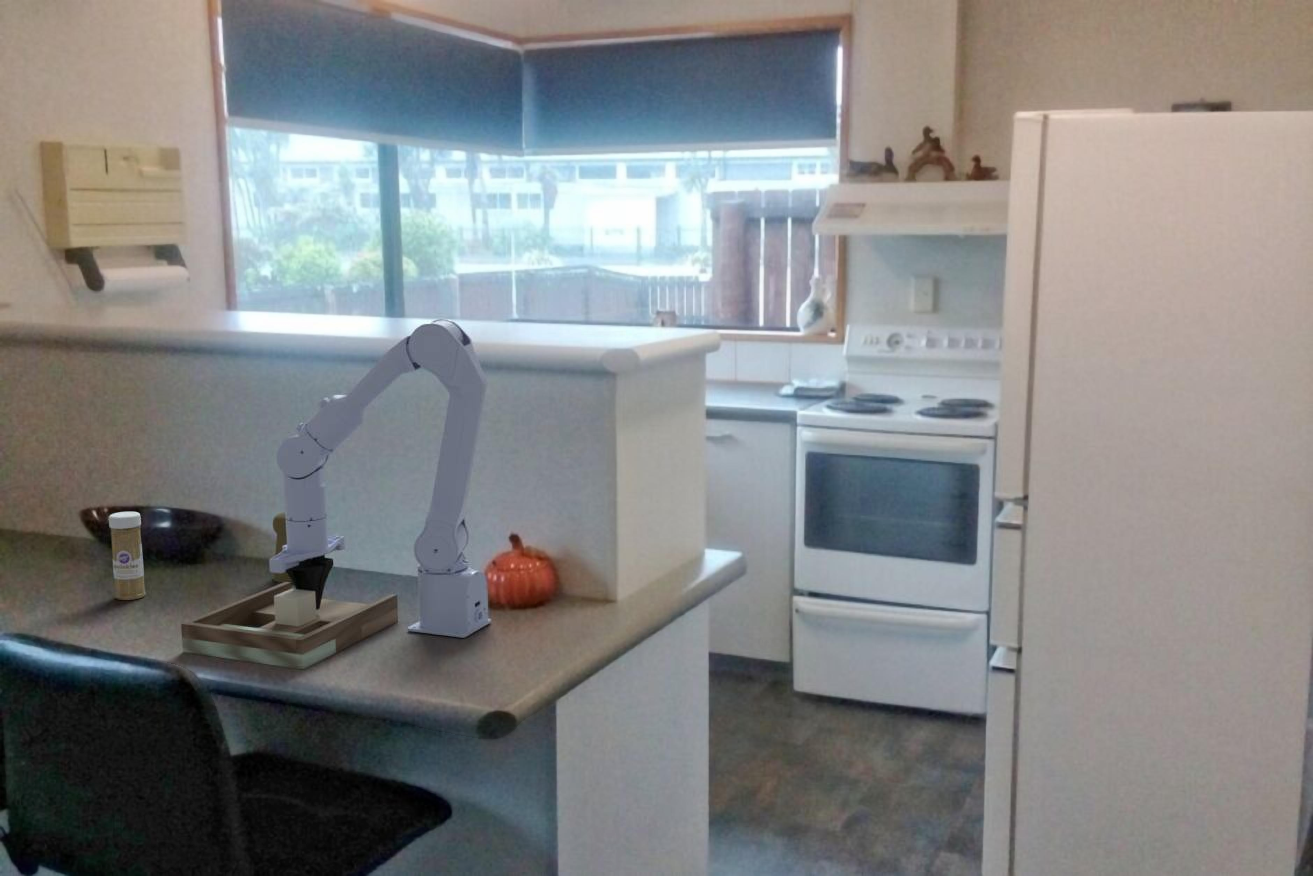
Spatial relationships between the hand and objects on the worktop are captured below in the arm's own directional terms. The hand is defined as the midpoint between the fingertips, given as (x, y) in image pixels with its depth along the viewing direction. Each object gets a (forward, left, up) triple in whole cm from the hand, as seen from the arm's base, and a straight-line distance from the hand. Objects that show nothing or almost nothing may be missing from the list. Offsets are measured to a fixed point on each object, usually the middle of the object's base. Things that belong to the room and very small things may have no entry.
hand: (311, 609), depth 179 cm
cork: (+20, -21, -3) cm, 29 cm away
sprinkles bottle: (+37, -3, -3) cm, 37 cm away
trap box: (0, +4, -3) cm, 5 cm away
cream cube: (0, +3, -1) cm, 4 cm away
